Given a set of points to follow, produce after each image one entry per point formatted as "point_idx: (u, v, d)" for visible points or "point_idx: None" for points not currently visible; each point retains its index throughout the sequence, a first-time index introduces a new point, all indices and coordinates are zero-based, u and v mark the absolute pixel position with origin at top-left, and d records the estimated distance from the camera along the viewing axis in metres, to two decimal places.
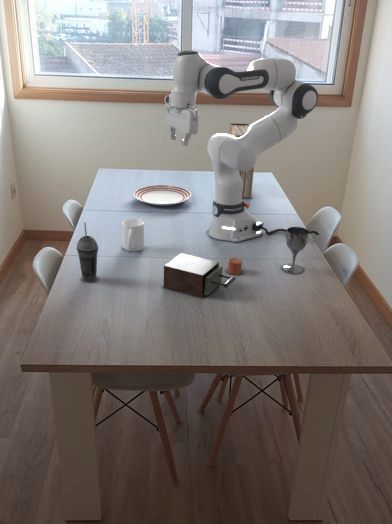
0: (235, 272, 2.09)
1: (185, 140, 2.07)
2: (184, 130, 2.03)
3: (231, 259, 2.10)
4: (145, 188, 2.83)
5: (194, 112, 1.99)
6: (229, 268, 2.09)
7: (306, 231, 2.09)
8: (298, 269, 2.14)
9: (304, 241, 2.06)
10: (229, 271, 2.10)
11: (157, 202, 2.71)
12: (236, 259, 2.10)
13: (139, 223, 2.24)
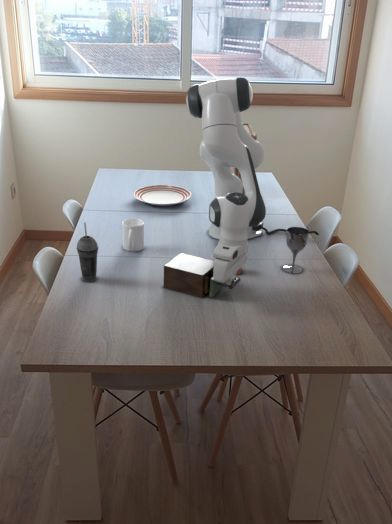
0: None
1: None
2: (244, 263, 1.94)
3: None
4: (145, 188, 2.83)
5: None
6: None
7: (306, 231, 2.09)
8: (298, 269, 2.14)
9: (304, 241, 2.06)
10: None
11: (157, 202, 2.71)
12: None
13: (139, 223, 2.24)
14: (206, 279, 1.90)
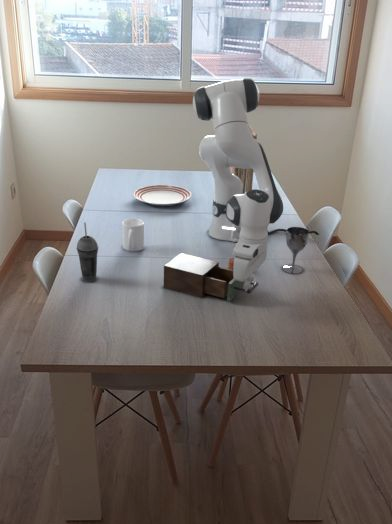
0: None
1: None
2: (262, 261, 1.91)
3: (231, 259, 2.10)
4: (145, 188, 2.83)
5: None
6: (229, 268, 2.09)
7: (306, 231, 2.09)
8: (298, 269, 2.14)
9: (304, 241, 2.06)
10: None
11: (157, 202, 2.71)
12: None
13: (139, 223, 2.24)
14: (224, 283, 1.88)
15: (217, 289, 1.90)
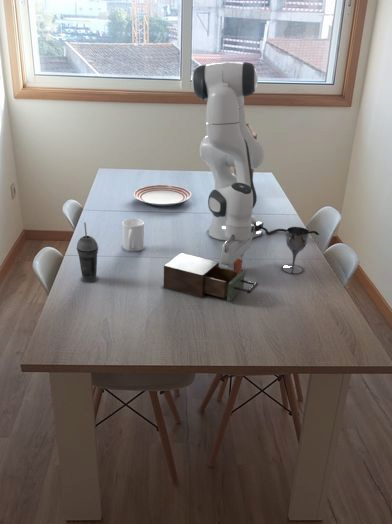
0: None
1: (229, 266, 2.07)
2: None
3: None
4: (145, 188, 2.83)
5: None
6: None
7: (306, 231, 2.09)
8: (298, 269, 2.14)
9: (304, 241, 2.06)
10: None
11: (157, 202, 2.71)
12: (236, 259, 2.10)
13: (139, 223, 2.24)
14: (224, 283, 1.88)
15: (217, 289, 1.90)
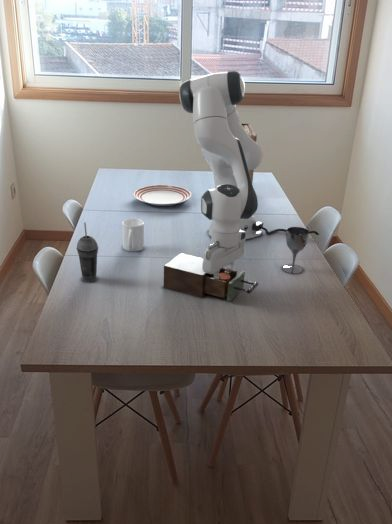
0: None
1: (214, 275, 1.89)
2: None
3: (219, 274, 1.94)
4: (145, 188, 2.83)
5: None
6: None
7: (306, 231, 2.09)
8: (298, 269, 2.14)
9: (304, 241, 2.06)
10: None
11: (157, 202, 2.71)
12: (224, 274, 1.94)
13: (139, 223, 2.24)
14: (224, 283, 1.88)
15: (217, 289, 1.90)
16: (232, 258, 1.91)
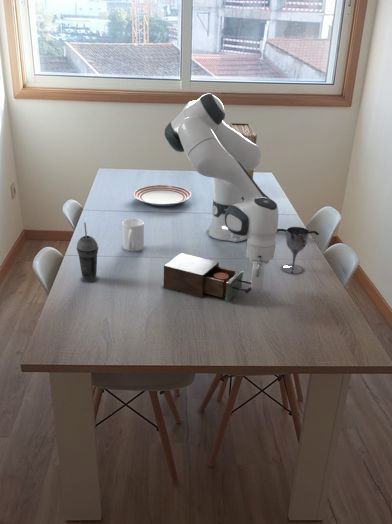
0: None
1: None
2: None
3: (217, 274, 1.94)
4: (145, 188, 2.83)
5: (257, 268, 1.75)
6: None
7: (306, 231, 2.09)
8: (298, 269, 2.14)
9: (304, 241, 2.06)
10: None
11: (157, 202, 2.71)
12: (222, 274, 1.94)
13: (139, 223, 2.24)
14: (222, 283, 1.88)
15: (216, 288, 1.90)
16: None
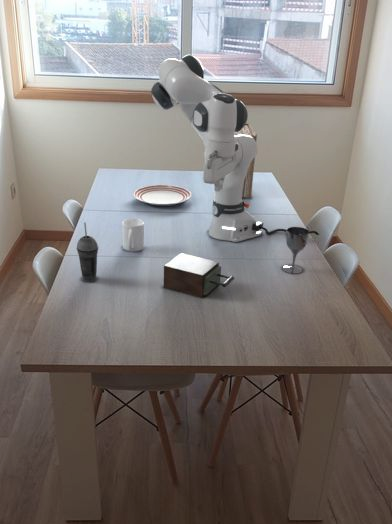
0: None
1: (215, 185, 1.95)
2: None
3: None
4: (145, 188, 2.83)
5: None
6: None
7: (306, 231, 2.09)
8: (298, 269, 2.14)
9: (304, 241, 2.06)
10: None
11: (157, 202, 2.71)
12: None
13: (139, 223, 2.24)
14: None
15: None
16: (227, 170, 1.95)
